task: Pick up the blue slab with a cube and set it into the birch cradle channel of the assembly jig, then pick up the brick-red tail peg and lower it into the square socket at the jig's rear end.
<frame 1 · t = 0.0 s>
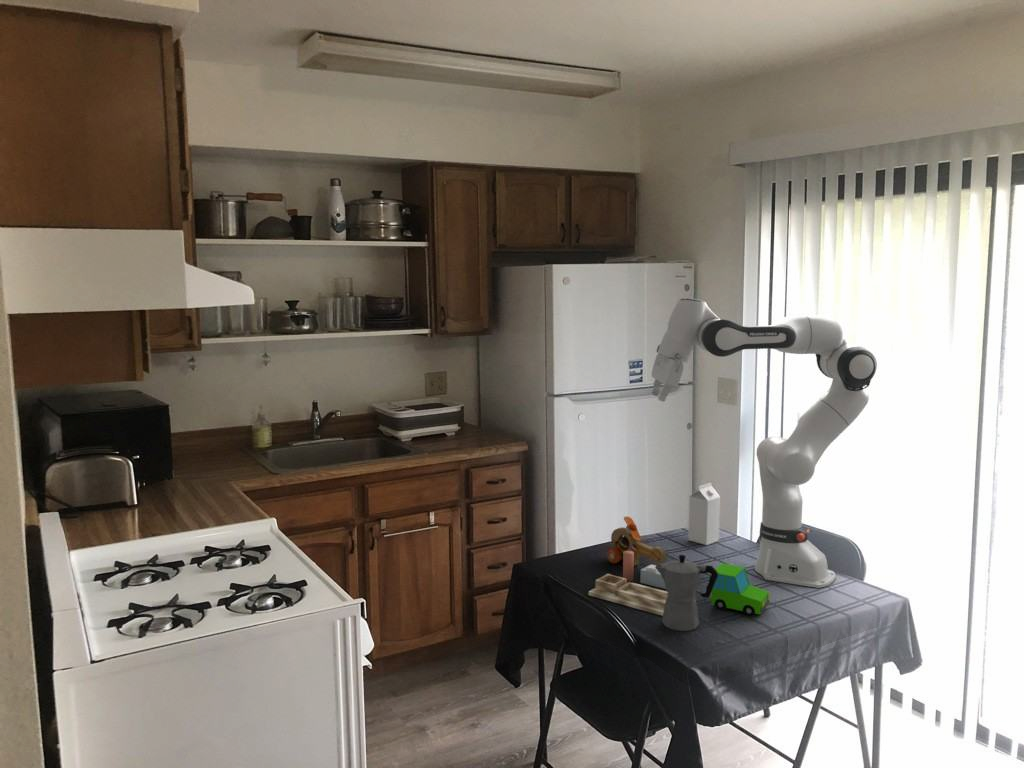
hand: (657, 398, 241), 52 cm above the table, tool tilted 20°, fingers open, 8 cm apart
blue slab with cube: (662, 586, 238), on the table
tail peg: (628, 579, 243), on the table
toy helicopter: (635, 566, 254), on the table
toy car: (740, 609, 222), on the table
coffeepot: (684, 624, 212), on the table
jig: (636, 598, 229), on the table
milk carton: (703, 541, 277), on the table
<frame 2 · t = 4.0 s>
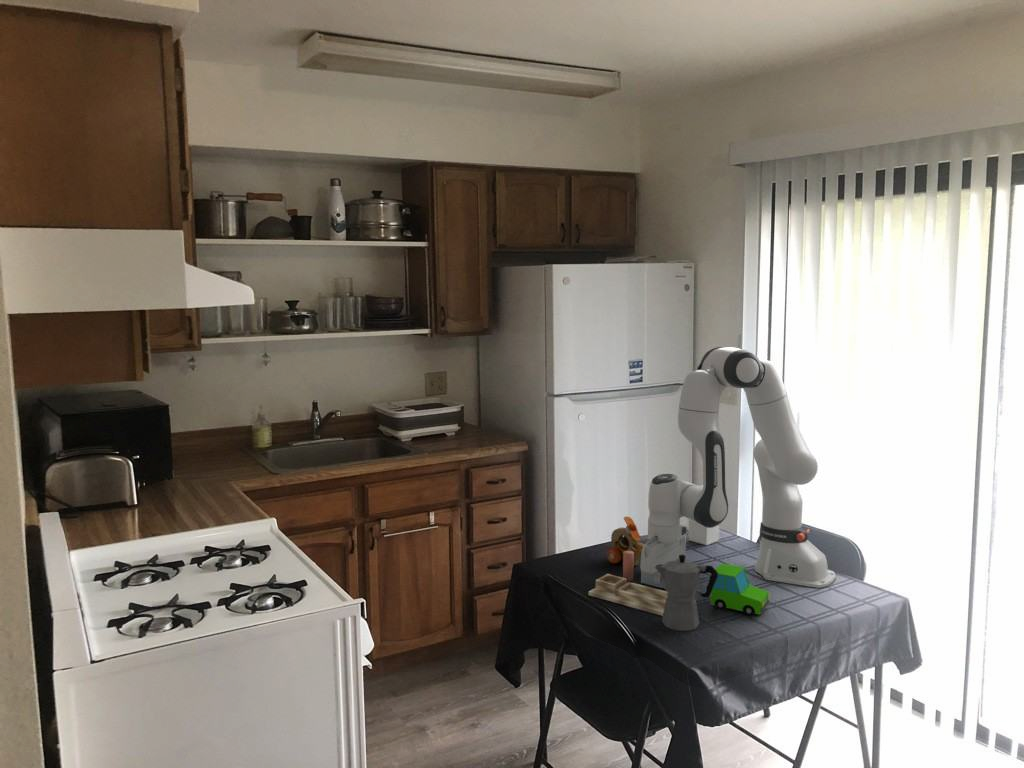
hand: (662, 579, 238), 2 cm above the table, tool pointing down, fingers closed on blue slab with cube, 4 cm apart
blue slab with cube: (663, 585, 238), on the table, touching gripper
everything else where it was.
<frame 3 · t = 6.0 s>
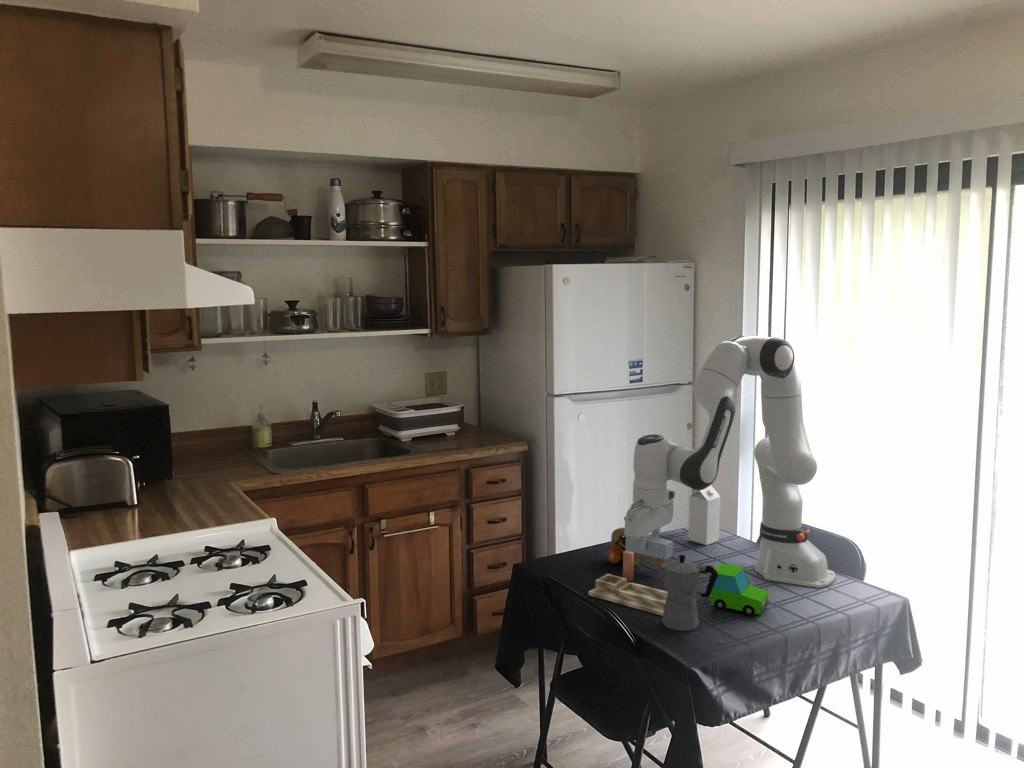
hand: (648, 546, 225), 15 cm above the table, tool pointing down, fingers closed on blue slab with cube, 4 cm apart
blue slab with cube: (648, 552, 225), point 14 cm above the table, touching gripper
everything else where it was.
when the fingers open (4 cm above the table, at t = 8.4 s): blue slab with cube drops 1 cm, resting on jig.
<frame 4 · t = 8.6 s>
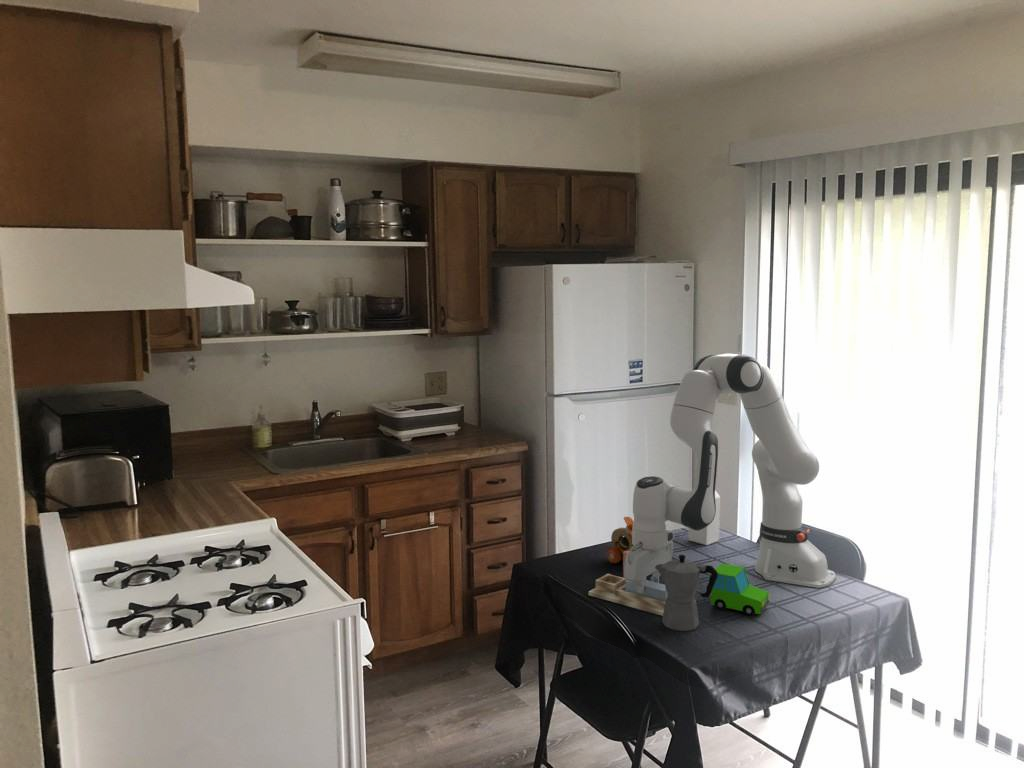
hand: (648, 588, 226), 4 cm above the table, tool pointing down, fingers open, 6 cm apart
blue slab with cube: (648, 597, 227), point 1 cm above the table, touching jig
everything else where it was.
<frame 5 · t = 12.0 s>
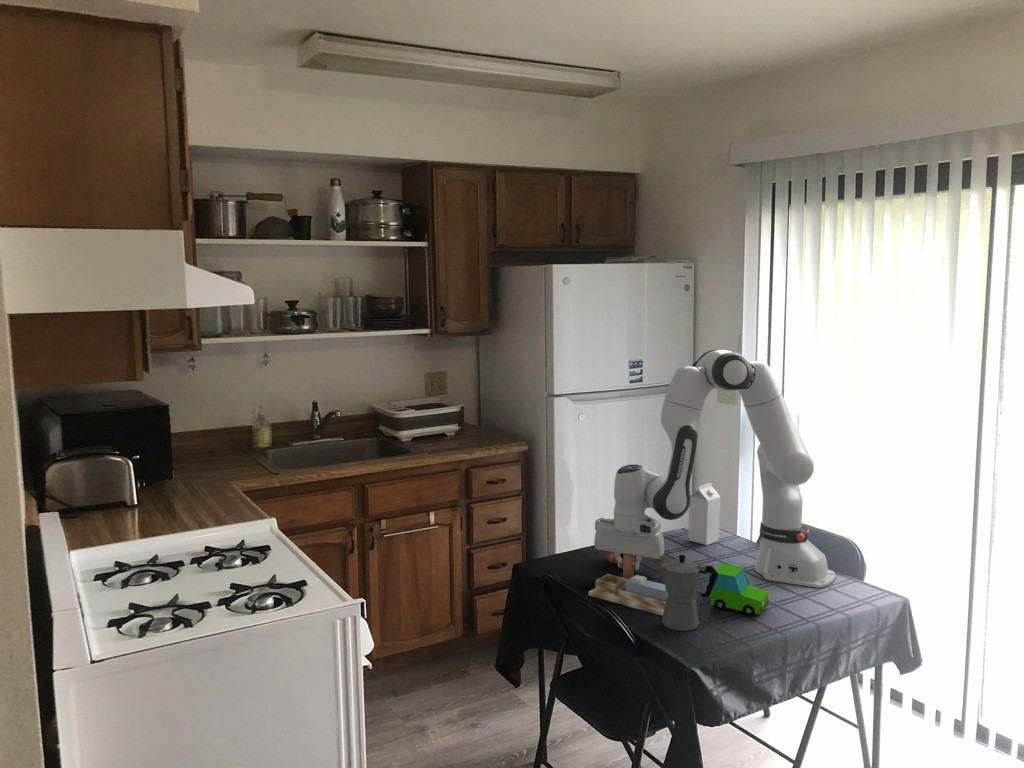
hand: (628, 568, 243), 3 cm above the table, tool pointing down, fingers closed on tail peg, 3 cm apart
tail peg: (628, 579, 243), on the table, touching gripper
everything else where it was.
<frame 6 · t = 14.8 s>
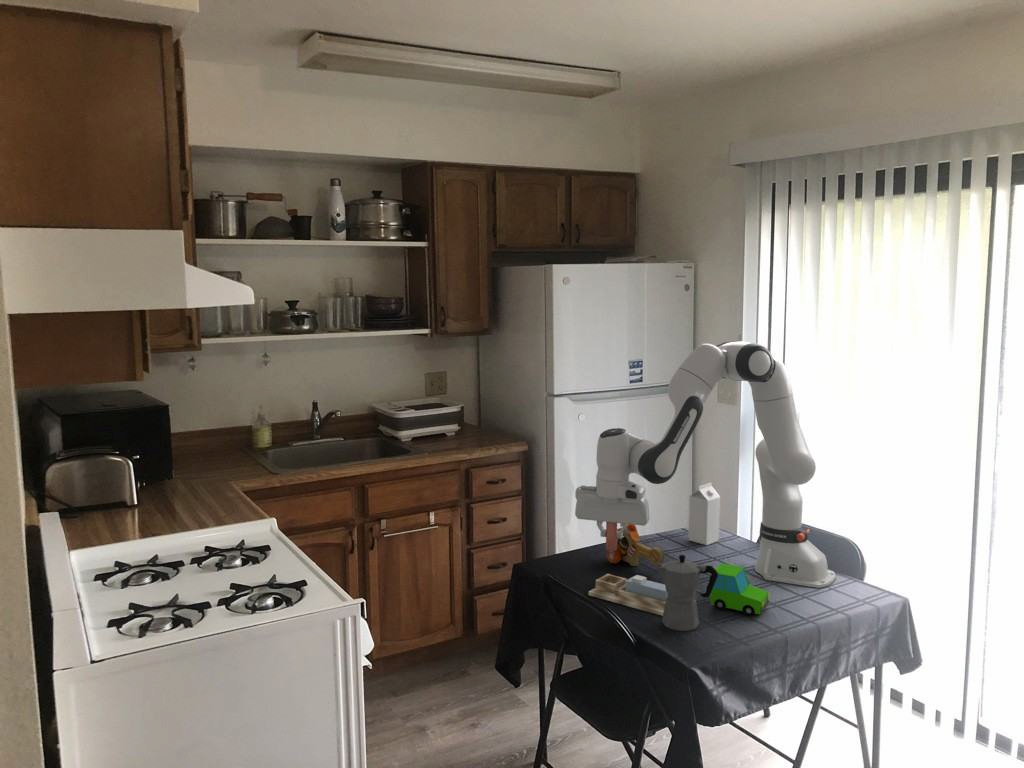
hand: (611, 537, 232), 16 cm above the table, tool pointing down, fingers closed on tail peg, 3 cm apart
tail peg: (611, 548, 232), point 12 cm above the table, touching gripper
everything else where it was.
when the fingers open (5 cm above the table, at t = 17.2 s): tail peg stays where it is, resting on jig.
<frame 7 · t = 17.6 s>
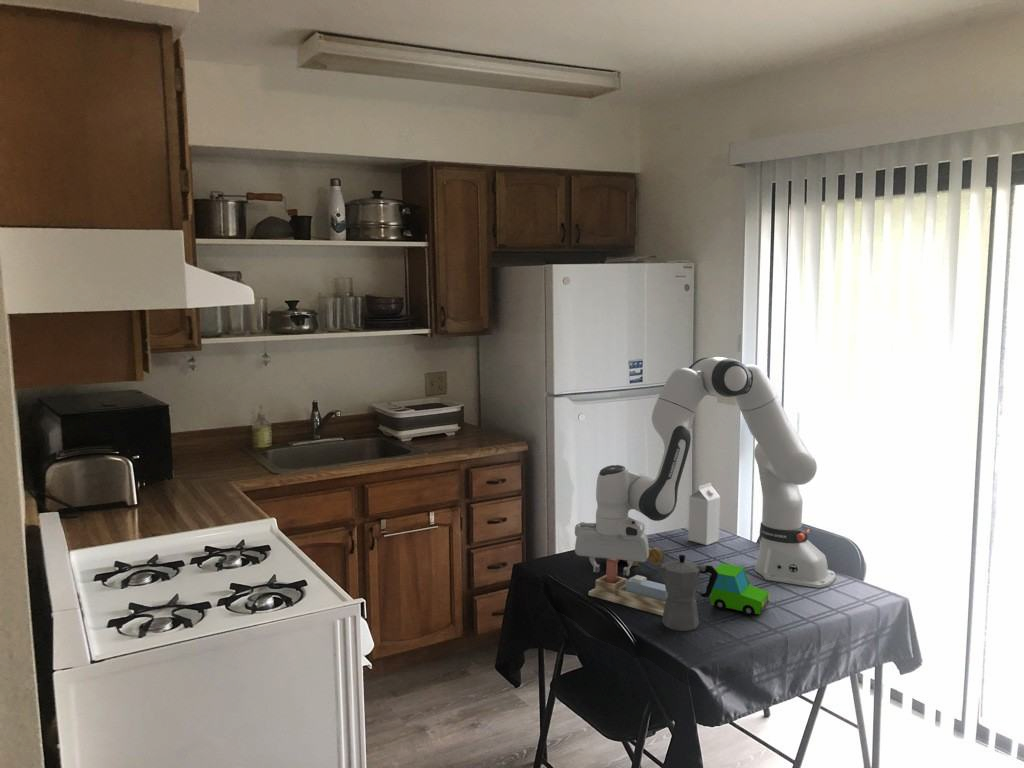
hand: (611, 573, 233), 5 cm above the table, tool pointing down, fingers open, 7 cm apart
tail peg: (611, 588, 234), point 1 cm above the table, touching jig
everything else where it was.
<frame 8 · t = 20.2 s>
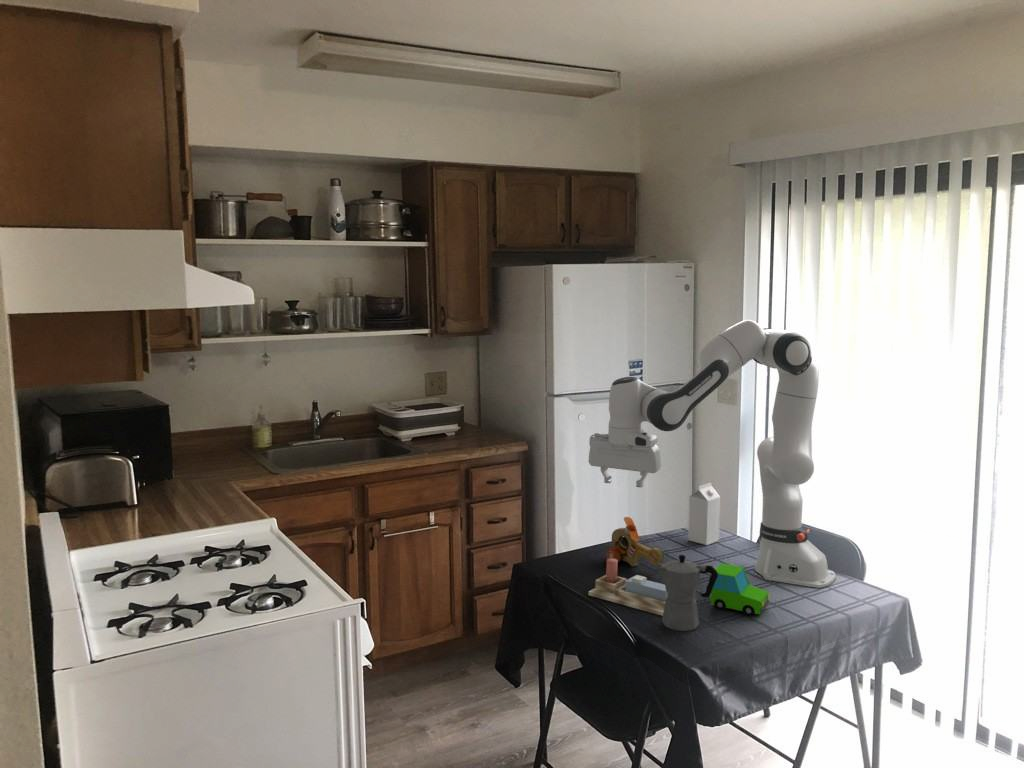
hand: (623, 484, 235), 29 cm above the table, tool pointing down, fingers open, 8 cm apart
nothing on the table moved.
at the end: blue slab with cube 0.2 cm from the target spot on the jig, point 1.0 cm above the jig's base; tail peg 0.1 cm from the target spot on the jig, point 1.0 cm above the jig's base; tail peg tilted 1° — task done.
